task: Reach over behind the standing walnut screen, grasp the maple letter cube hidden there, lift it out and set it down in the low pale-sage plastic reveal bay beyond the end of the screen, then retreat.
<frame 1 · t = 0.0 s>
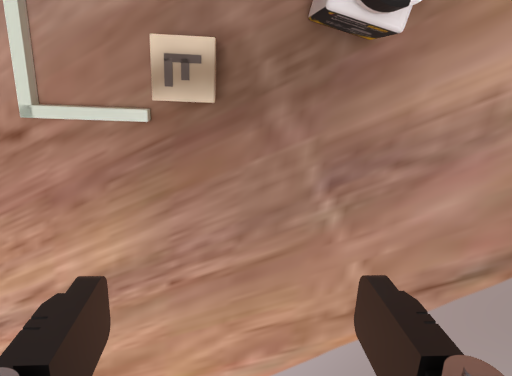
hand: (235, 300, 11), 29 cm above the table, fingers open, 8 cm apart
bay: (90, 43, 35), on the table
letter cube: (188, 69, 37), on the table
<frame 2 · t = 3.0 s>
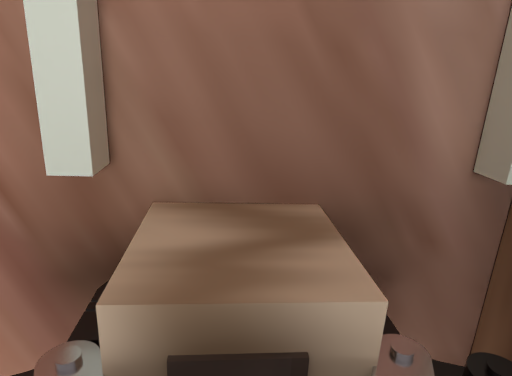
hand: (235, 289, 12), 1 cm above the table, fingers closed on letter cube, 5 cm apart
screen: (508, 286, 14), on the table
letter cube: (235, 276, 13), on the table, touching gripper
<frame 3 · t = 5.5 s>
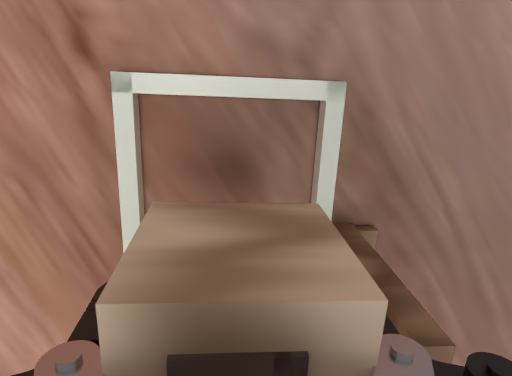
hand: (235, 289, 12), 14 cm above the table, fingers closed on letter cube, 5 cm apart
bay: (229, 175, 25), on the table
screen: (332, 297, 29), on the table
letter cube: (235, 275, 13), point 13 cm above the table, touching gripper
when the fingers open (2 cm above the table, at t = 8.0 s): letter cube drops 1 cm, on the table.
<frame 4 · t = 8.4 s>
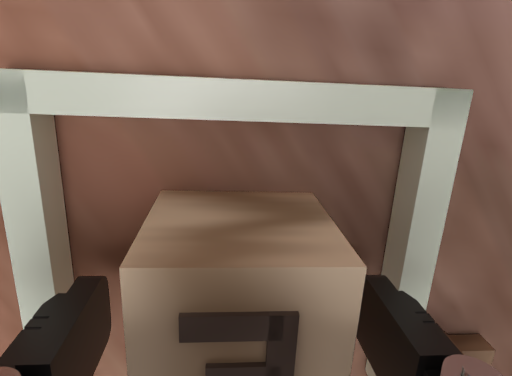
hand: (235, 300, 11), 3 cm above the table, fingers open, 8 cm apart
bay: (233, 259, 14), on the table
letter cube: (236, 257, 14), on the table
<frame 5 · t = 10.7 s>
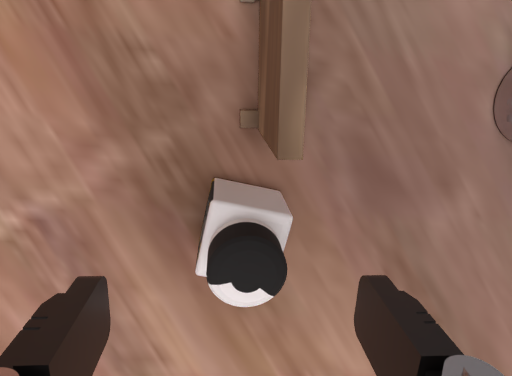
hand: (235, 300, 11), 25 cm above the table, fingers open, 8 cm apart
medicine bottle: (239, 214, 38), on the table
screen: (267, 57, 33), on the table
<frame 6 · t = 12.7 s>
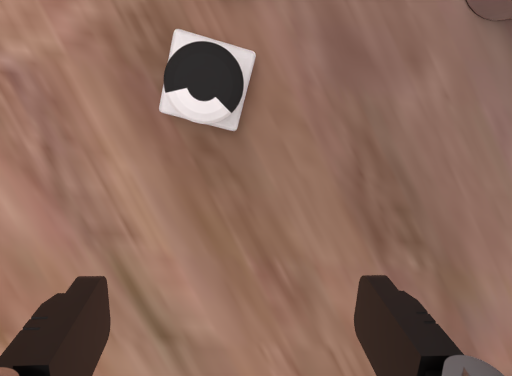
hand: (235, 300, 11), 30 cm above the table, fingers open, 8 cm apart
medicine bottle: (209, 80, 38), on the table
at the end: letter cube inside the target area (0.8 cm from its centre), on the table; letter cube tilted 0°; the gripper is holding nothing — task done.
